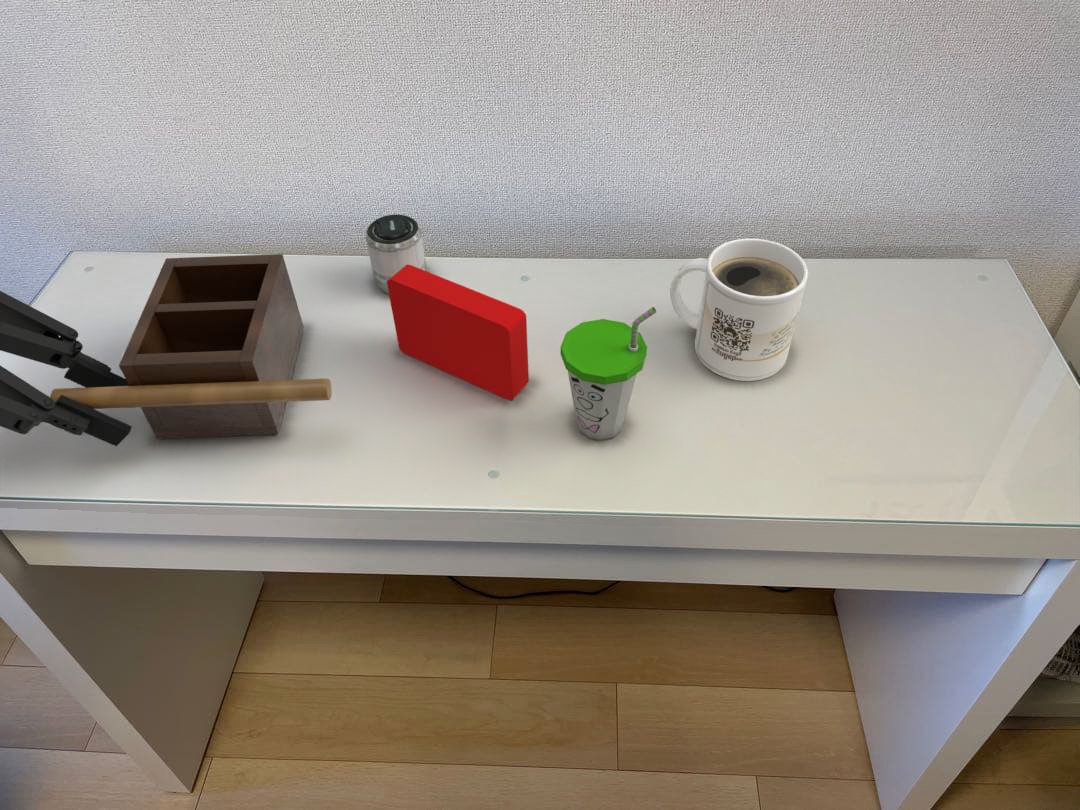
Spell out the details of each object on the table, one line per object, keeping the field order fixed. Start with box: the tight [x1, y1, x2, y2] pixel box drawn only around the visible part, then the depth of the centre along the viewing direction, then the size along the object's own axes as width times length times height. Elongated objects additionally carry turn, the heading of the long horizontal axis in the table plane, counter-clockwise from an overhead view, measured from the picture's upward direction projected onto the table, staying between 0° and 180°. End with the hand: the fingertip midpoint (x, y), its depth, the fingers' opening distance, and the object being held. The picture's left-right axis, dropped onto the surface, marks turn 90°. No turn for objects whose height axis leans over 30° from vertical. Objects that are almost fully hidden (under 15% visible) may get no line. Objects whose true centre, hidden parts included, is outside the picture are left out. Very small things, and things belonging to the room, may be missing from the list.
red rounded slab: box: [387, 265, 530, 401], centre depth 87 cm, size 15×3×10 cm, turn 58°
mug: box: [669, 237, 809, 382], centre depth 88 cm, size 10×12×11 cm
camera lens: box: [364, 214, 427, 295], centre depth 98 cm, size 6×6×8 cm
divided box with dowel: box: [49, 253, 333, 440], centre depth 85 cm, size 18×25×10 cm
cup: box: [560, 306, 657, 442], centre depth 79 cm, size 8×8×15 cm
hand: (131, 417), depth 81 cm, fingers closed on divided box with dowel, 4 cm apart
